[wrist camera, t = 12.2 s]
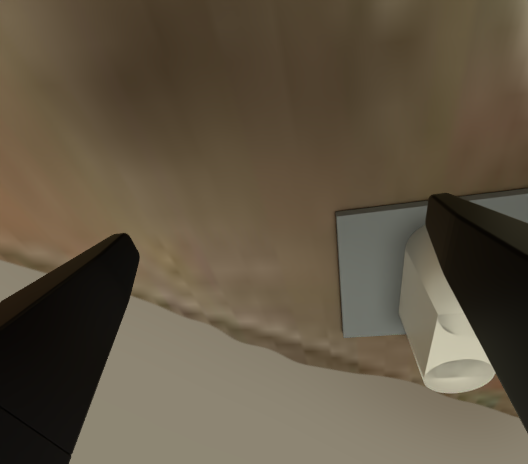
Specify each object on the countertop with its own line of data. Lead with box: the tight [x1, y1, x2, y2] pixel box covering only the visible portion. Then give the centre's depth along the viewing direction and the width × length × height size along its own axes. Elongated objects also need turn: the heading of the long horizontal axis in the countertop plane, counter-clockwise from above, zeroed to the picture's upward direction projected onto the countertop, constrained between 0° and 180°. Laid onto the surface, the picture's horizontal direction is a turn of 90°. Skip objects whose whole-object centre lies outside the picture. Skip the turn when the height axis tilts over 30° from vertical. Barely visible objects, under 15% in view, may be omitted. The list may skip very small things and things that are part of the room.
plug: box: [399, 225, 495, 393], centre depth 22 cm, size 4×14×6 cm, turn 11°
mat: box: [336, 188, 528, 338], centre depth 24 cm, size 14×14×1 cm
